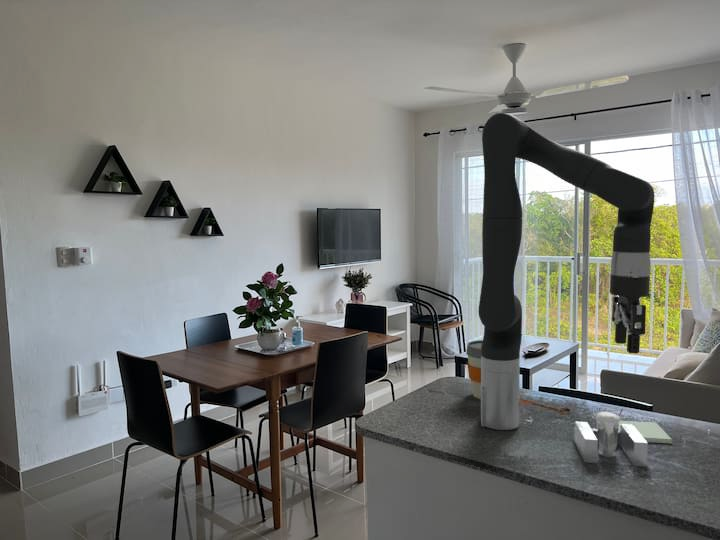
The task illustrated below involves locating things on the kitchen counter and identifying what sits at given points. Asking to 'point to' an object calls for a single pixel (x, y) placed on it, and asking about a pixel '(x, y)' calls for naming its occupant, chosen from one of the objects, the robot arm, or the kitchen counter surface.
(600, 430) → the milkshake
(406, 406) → the kitchen counter surface
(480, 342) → the reusable coffee cup
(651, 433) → the mat
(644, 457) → the grey u-shaped bracket
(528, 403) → the key
